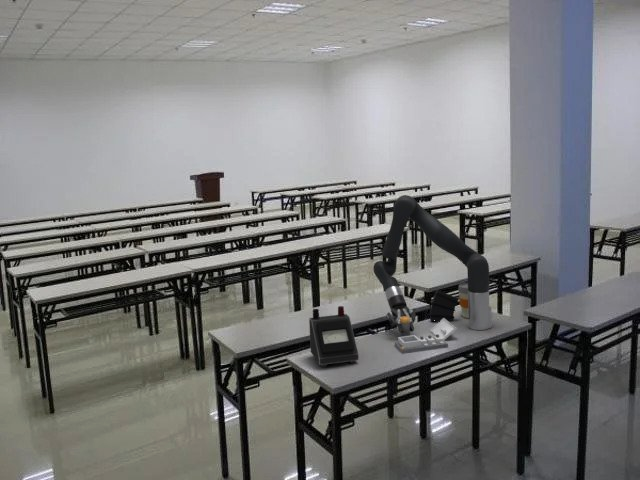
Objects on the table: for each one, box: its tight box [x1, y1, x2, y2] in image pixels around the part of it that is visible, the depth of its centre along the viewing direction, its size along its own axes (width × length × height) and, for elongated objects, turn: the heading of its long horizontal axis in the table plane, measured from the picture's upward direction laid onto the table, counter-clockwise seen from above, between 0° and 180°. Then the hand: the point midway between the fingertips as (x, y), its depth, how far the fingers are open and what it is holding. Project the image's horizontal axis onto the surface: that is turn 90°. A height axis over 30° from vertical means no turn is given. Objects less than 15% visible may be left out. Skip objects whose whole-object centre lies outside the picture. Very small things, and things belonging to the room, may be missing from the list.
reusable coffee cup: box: [457, 282, 469, 319], centre depth 284 cm, size 13×13×15 cm
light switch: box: [429, 318, 458, 341], centre depth 260 cm, size 8×5×14 cm
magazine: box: [428, 289, 459, 323], centre depth 280 cm, size 4×13×15 cm, turn 88°
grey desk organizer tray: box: [394, 334, 449, 354], centre depth 249 cm, size 20×10×4 cm, turn 100°
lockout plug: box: [400, 315, 412, 337], centre depth 258 cm, size 4×4×10 cm
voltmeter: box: [308, 305, 360, 368], centre depth 239 cm, size 16×16×20 cm
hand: (407, 331), depth 257 cm, fingers closed on lockout plug, 4 cm apart
